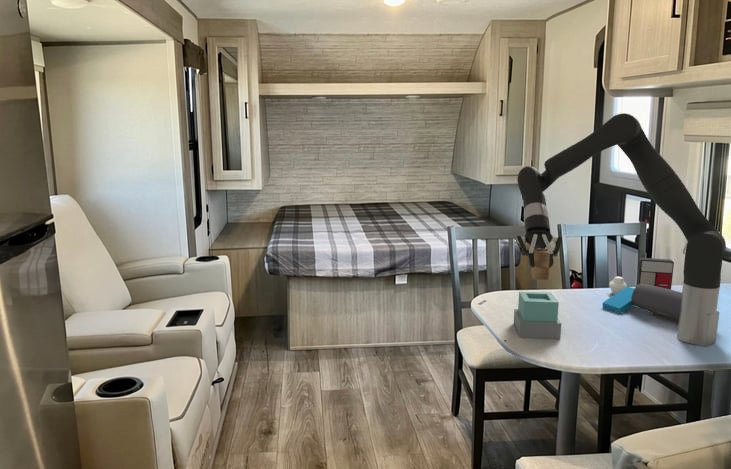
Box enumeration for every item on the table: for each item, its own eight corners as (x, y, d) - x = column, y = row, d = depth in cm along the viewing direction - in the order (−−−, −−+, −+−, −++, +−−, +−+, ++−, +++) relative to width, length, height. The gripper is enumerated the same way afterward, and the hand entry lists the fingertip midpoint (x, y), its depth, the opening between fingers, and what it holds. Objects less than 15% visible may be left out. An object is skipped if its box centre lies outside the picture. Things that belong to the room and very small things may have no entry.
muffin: (624, 297, 205) (625, 279, 204) (606, 294, 209) (608, 276, 208) (627, 293, 210) (629, 275, 209) (610, 290, 214) (612, 273, 212)
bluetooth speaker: (711, 327, 174) (715, 297, 172) (695, 332, 170) (698, 302, 168) (645, 307, 194) (648, 280, 192) (629, 311, 189) (631, 284, 187)
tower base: (551, 325, 176) (553, 291, 174) (560, 339, 164) (562, 303, 162) (513, 323, 177) (515, 290, 175) (519, 337, 166) (521, 302, 163)
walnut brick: (545, 275, 169) (547, 249, 168) (548, 279, 165) (550, 252, 163) (530, 275, 170) (532, 248, 168) (533, 279, 166) (535, 252, 164)
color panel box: (637, 299, 203) (641, 260, 200) (635, 295, 207) (639, 257, 204) (670, 302, 200) (674, 262, 197) (667, 298, 204) (671, 259, 201)
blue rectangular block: (621, 325, 189) (652, 304, 196) (619, 308, 187) (651, 287, 194) (604, 319, 195) (635, 299, 202) (602, 302, 192) (633, 282, 200)
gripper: (515, 212, 172) (519, 259, 162) (562, 213, 170) (568, 260, 161) (511, 226, 178) (515, 271, 169) (557, 227, 177) (563, 273, 167)
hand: (541, 266), depth 165 cm, fingers closed on walnut brick, 4 cm apart
